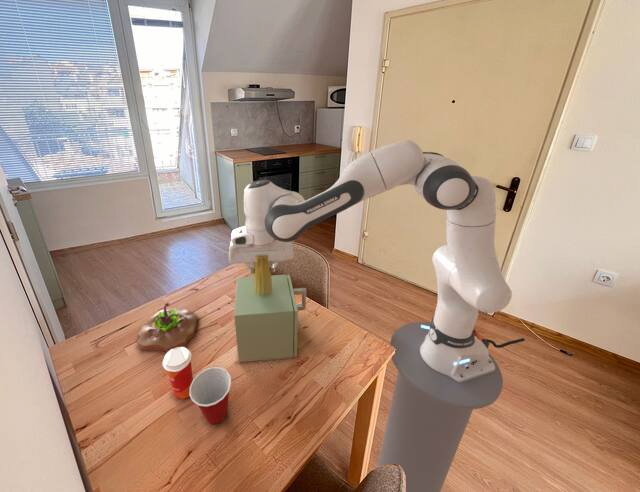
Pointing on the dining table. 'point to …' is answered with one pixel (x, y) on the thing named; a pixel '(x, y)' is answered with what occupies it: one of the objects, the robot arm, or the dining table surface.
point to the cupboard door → (296, 309)
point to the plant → (168, 329)
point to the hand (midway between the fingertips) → (262, 271)
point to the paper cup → (179, 371)
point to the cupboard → (264, 320)
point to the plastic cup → (211, 393)
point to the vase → (262, 276)
